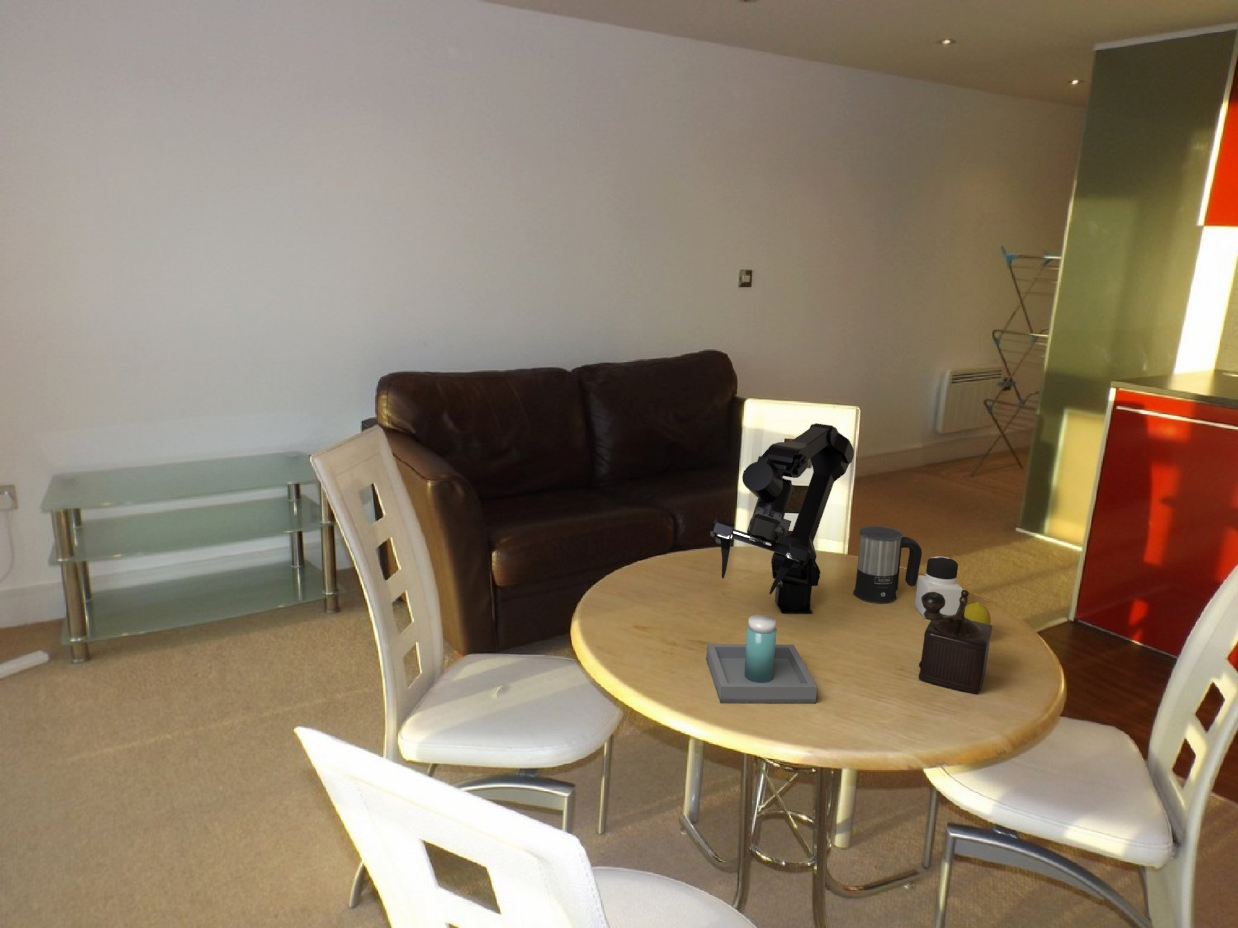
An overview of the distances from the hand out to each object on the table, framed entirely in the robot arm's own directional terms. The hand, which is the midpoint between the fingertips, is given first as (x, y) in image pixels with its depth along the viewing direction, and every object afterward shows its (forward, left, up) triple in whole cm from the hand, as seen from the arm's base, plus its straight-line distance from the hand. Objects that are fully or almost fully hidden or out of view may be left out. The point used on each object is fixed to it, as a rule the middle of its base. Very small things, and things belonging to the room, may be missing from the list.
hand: (746, 585), depth 165 cm
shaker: (0, +13, -11) cm, 18 cm away
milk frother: (-35, -30, -12) cm, 48 cm away
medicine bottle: (-44, -17, -12) cm, 49 cm away
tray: (0, +13, -12) cm, 18 cm away
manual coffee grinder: (-34, +13, -12) cm, 39 cm away
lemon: (-46, -4, -12) cm, 48 cm away
